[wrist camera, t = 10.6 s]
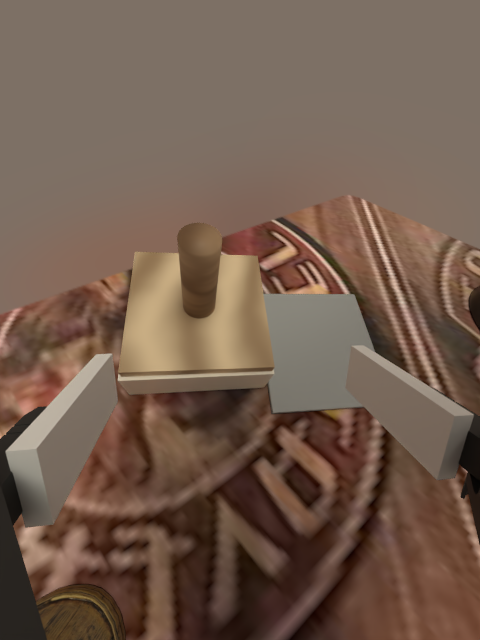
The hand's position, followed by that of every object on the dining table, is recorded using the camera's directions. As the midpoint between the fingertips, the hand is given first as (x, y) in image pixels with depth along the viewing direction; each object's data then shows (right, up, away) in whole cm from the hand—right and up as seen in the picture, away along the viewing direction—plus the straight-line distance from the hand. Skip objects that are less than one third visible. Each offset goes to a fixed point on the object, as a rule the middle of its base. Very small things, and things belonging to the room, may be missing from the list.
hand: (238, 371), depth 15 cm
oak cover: (-4, +4, +15) cm, 16 cm away
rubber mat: (+10, -1, +20) cm, 23 cm away
